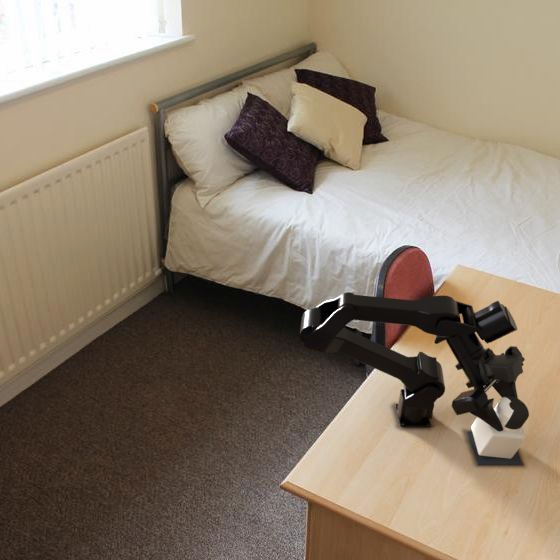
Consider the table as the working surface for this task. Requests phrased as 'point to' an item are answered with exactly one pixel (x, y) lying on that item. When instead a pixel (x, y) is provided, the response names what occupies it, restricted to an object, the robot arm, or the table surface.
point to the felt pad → (492, 460)
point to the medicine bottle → (512, 435)
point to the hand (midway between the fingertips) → (509, 421)
